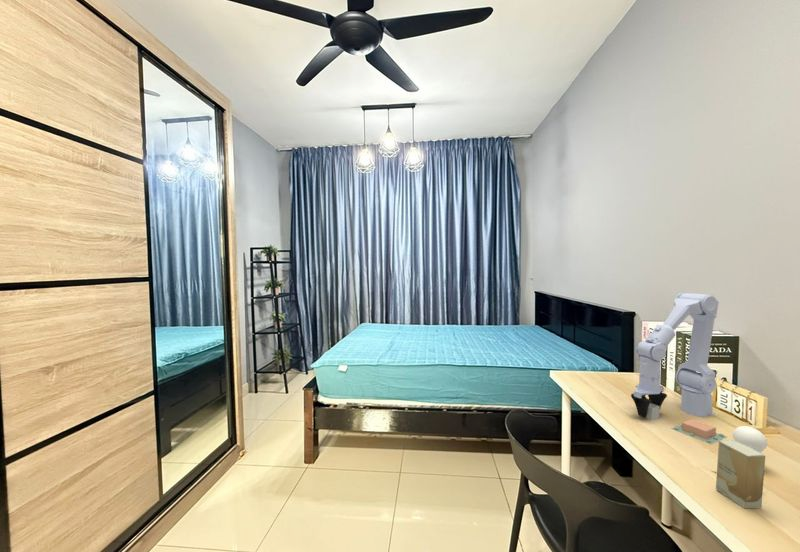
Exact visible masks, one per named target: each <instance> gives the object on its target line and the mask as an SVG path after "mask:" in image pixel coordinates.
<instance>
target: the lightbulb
mask: <svg viewBox="0 0 800 552" xmlns="http://www.w3.org/2000/svg"><path fill="white" fill-rule="evenodd" d="M732 437H733V440H735V441H737V442H739V443H741V444H743V445H745V446H748V447H750V448H752V449H753V450H755V451H757V452H759V453H761V454H762V453H763V451H764V450H765V449H766V448H767V447H768V440H767V438H766V437H765V435H764V434H763V433H762V432H761V431H760V430H759V429H756V428H755V427H751V426H748V425H747V426H746V425H741V426H737V427H736V428H735V429H734V430H733V432H732Z"/></svg>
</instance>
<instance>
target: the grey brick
mask: <svg viewBox="0 0 800 552" xmlns="http://www.w3.org/2000/svg"><path fill="white" fill-rule="evenodd" d="M660 410H661V408H660V406H658V405H655V404H652V403H650V404H649V407H648V412H647V416H646V419H648V420H650V421H654V420H657V419H660Z"/></svg>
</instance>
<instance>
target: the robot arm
mask: <svg viewBox="0 0 800 552" xmlns="http://www.w3.org/2000/svg"><path fill="white" fill-rule="evenodd" d="M673 305H674V306H673V309H672V310H671V312H670V313H669V315H668V317H667V318H666V319H665V321H664V323H663V324H659V325H656V326H655V328H654V329H653V330H652V331H651V332H650V334H649V335H648V337H647V338H646V339H645V340H643V341H640V342H639V343H638V344H637V345H636V348H635V349H634V351H635V353H636V355H637V360H638V362H639V369H638V370H639V372H638V373H639V377H638V378H639V379H638V383H639V384H636V385H635V388H636V389H635V390H634V391H633V393H631V394H630V397H631V399H632V400H633V403H634V405H635V407H636V411H637V416H638V417H639V416H640V417H641V418H646V416H647V412H648V407H649V404H650V403H652V404H655V405H658V406H660V409H661V407H662V404H663V403H664V401H665V399H666V398H667V397H668V395H667V393H665V390H664V389H665V386H663V385H661V361H662V360H663V359H664V358H665V357H666V354H667V349H668V346H669V344H670V343H671V342H672V341H673V339H674V338H675V336H676V332H675V330H676V329H677V328H678V327H680V325H681V324H682V323H683V322H684V321H685V320H686V318H688V317H689V316H690V317H691V318H692V319H693V323H692V330H691V334H690V335H691V336H690V342H689V348H688V349H689V350H688V354H687V360H686V361H685V362H683V363H680V364H679V367H678V369H677V370H676V373H675V381H676V382H677V384H678V385H679V387H680V388H681V395H680V396H681V398H680V399H681V400H680V401H681V403H680V409H681V411H682V412H683V413H686V414H688V415H690V416H691V415H692V416H695V417H701V418H706V417H708V416H709V415H710V416H713V417H716V416H717V415H716V413H713V402H714V399H713V395H712V393H713V392H714V391H715V390H716V388H717V379H716V375H717V374H716V372H715V371H714V370H713V369H711V367H710V366H709V365H708V361H709V358H710V349H711V343H712V336H713V332H714V331H713V329H714V327H715V326H714V325H715V319H716V318H717V314H718V309H719V301H718V300H717V298H716V297H715V295H713V294H702V293H692V292H691V293H688V292H679V293H678V295H676V297H675V299H674V300H673ZM646 396H647V397H648V398H647V397H646ZM646 419H647V418H646Z"/></svg>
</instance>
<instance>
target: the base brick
mask: <svg viewBox="0 0 800 552" xmlns="http://www.w3.org/2000/svg"><path fill="white" fill-rule="evenodd" d="M681 425H682V430H683V431H685V432H688V433H693V434H694V435H696V436H698V437H701V438H704V439H708V438H711V437H713V436H715V435H716V433H717V427H716V426H713V425H711V424H708V423H705V422H702V421H698V420H696V419H693V418H691V419H688V420H685V421H682V422H681Z"/></svg>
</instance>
